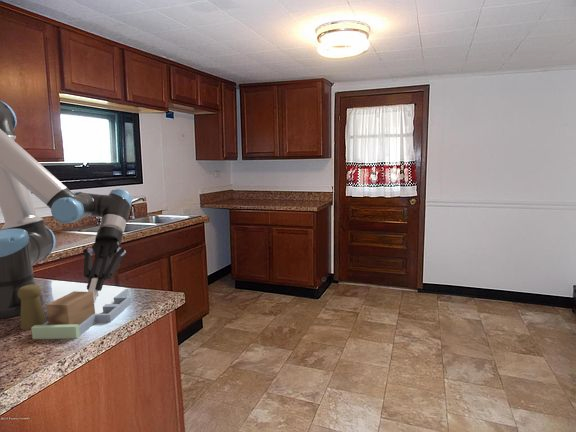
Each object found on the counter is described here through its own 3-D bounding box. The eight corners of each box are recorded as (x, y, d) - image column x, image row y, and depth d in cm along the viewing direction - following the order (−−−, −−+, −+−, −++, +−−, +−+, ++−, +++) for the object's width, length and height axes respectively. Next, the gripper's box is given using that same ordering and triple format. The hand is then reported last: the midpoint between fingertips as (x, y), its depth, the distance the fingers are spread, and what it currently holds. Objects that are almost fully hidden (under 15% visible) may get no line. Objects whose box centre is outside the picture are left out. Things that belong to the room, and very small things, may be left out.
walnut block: (49, 330, 100) (46, 304, 99) (76, 314, 110) (73, 291, 109) (70, 331, 99) (67, 305, 98) (95, 315, 109) (92, 292, 108)
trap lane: (32, 339, 95) (31, 327, 95) (95, 295, 126) (94, 286, 125) (92, 338, 95) (91, 326, 95) (141, 294, 125) (140, 285, 125)
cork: (33, 330, 100) (28, 290, 99) (14, 329, 102) (8, 289, 100) (52, 320, 106) (47, 282, 105) (33, 319, 108) (28, 281, 106)
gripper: (135, 237, 127) (118, 305, 113) (95, 238, 127) (74, 306, 113) (126, 224, 121) (107, 294, 107) (85, 225, 121) (61, 295, 107)
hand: (90, 300), depth 110 cm, fingers closed
